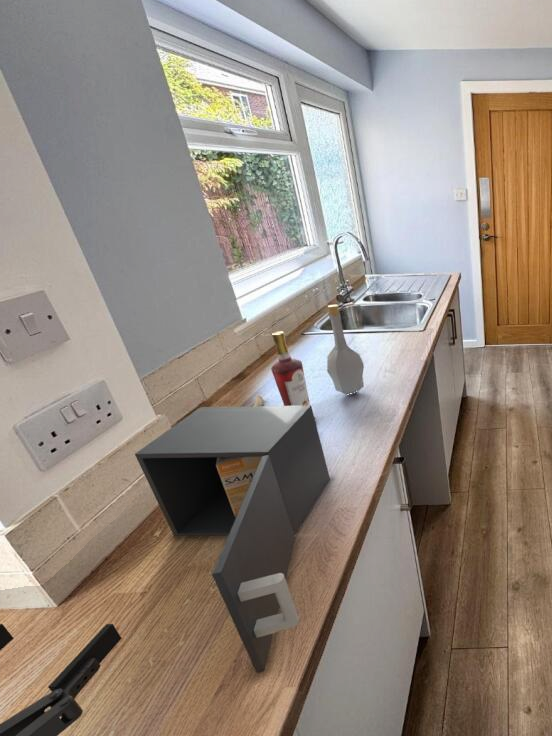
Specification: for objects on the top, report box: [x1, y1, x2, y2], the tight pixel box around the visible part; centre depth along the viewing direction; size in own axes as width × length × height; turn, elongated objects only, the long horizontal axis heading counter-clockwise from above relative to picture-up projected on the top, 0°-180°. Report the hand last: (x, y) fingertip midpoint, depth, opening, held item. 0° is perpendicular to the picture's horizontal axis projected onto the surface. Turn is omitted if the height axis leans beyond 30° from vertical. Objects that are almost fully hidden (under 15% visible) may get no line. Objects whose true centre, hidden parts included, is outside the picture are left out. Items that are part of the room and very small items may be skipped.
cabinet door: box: [211, 455, 301, 674], centre depth 64 cm, size 6×24×20 cm, turn 17°
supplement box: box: [216, 457, 262, 516], centre depth 83 cm, size 8×5×13 cm, turn 120°
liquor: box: [270, 331, 316, 419], centre depth 109 cm, size 7×7×28 cm
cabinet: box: [134, 404, 331, 538], centre depth 82 cm, size 16×24×20 cm, turn 89°
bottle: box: [326, 304, 365, 396], centre depth 125 cm, size 11×11×30 cm
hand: (59, 630), depth 49 cm, fingers open, 13 cm apart
